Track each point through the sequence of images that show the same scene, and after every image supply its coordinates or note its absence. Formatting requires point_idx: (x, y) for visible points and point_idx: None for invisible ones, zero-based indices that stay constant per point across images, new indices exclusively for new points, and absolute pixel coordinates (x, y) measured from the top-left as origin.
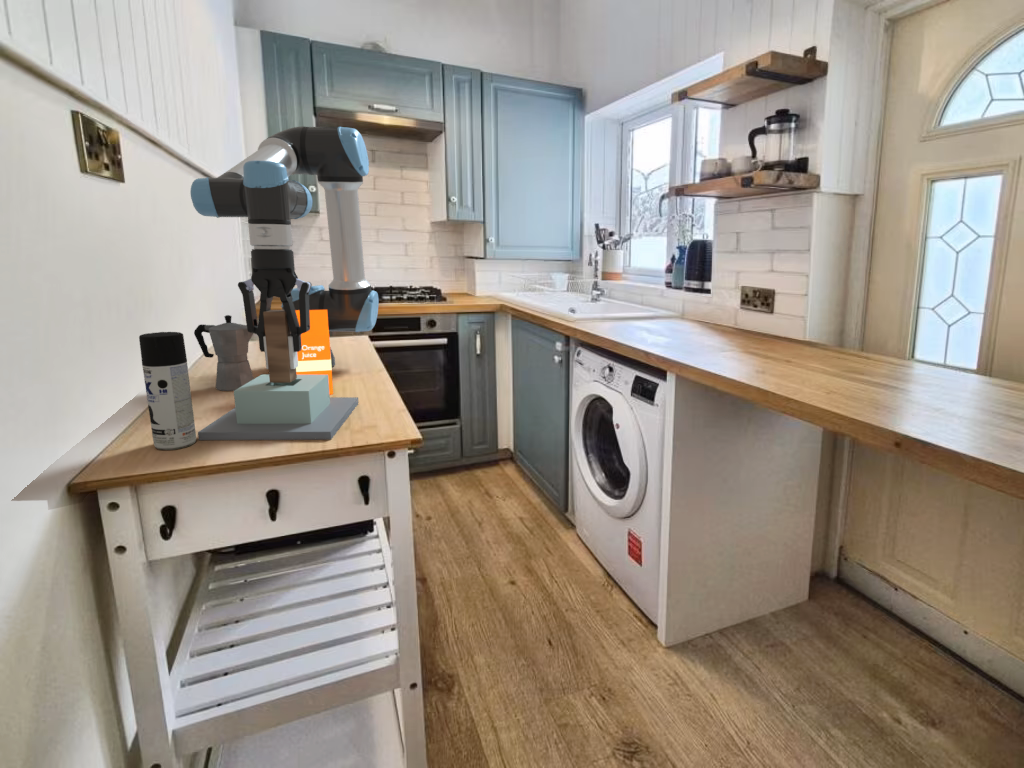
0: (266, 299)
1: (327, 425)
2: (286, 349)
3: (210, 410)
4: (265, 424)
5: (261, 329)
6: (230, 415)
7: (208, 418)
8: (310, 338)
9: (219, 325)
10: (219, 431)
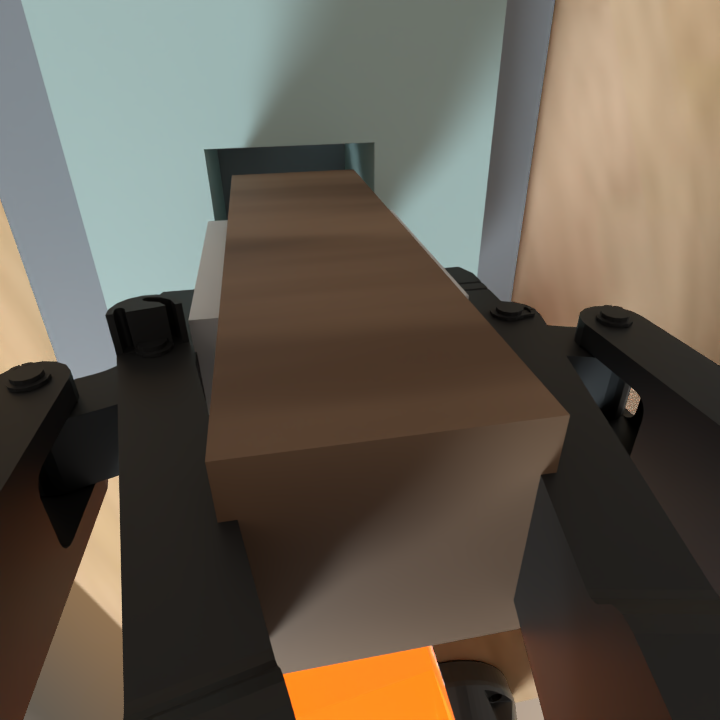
0: (637, 651)
1: None
2: (235, 238)
3: (602, 285)
4: None
5: (509, 333)
6: (506, 141)
7: (588, 190)
8: (337, 691)
9: None
10: None
